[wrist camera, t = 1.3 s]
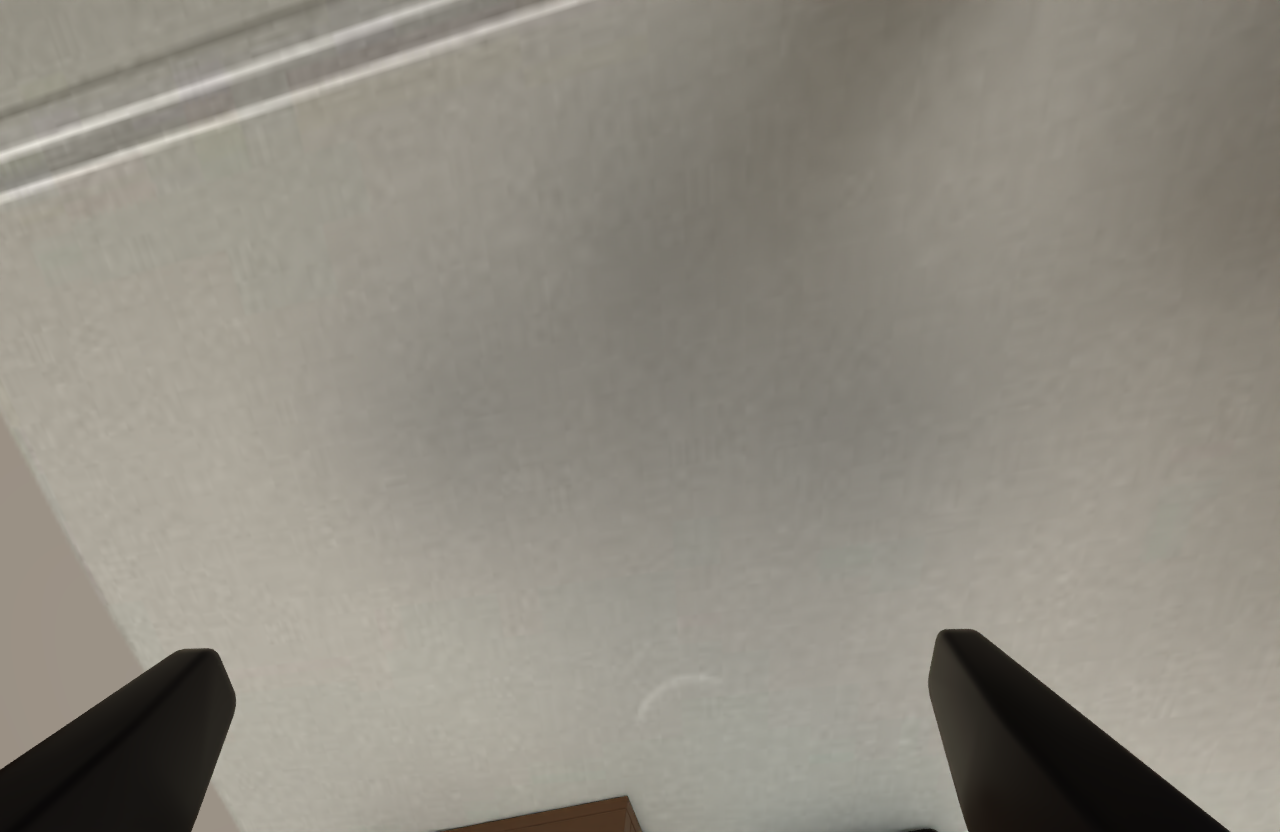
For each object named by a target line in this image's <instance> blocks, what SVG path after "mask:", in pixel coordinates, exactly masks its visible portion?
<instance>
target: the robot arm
mask: <svg viewBox="0 0 1280 832" xmlns="http://www.w3.org/2000/svg"><path fill="white" fill-rule="evenodd" d="M928 687H929V694H930V699H931V702H932V706H933V709H934V713H935V717H936V720H937V724H938V728H939V731H940V735H941V738H942V742H943V746H944V749H945V753H946V757H947V760H948V764H949V767H950V771H951V775H952V778H953V782H954V786H955V789H956V793H957V796H958V800H959V803H960V807H961V810H962V813H963V817H964V820H965V823H966V826H967V828H968V831H969V832H1230V831H1229V830H1228V829H1226V828H1225V827H1224V826H1222V825H1221V824H1220V823H1219V822H1217V821H1216V820H1215V819H1214V818H1212V817H1211V816H1210V815H1209V814H1207V813H1206V812H1205V811H1204V810H1202V809H1201V808H1200V807H1199V806H1197V805H1196V804H1195V803H1193V802H1192V801H1191V800H1190V799H1188V798H1187V797H1186V796H1185V795H1183V794H1182V793H1181V792H1180V791H1178V790H1177V789H1176V788H1175V787H1173V786H1172V785H1171V784H1170V783H1168V782H1167V781H1166V780H1164V779H1163V778H1162V777H1161V776H1159V775H1158V774H1157V773H1156V772H1154V771H1153V770H1152V769H1151V768H1149V767H1148V766H1147V765H1146V764H1144V763H1143V762H1142V761H1141V760H1139V759H1138V758H1137V757H1135V756H1134V755H1133V754H1132V753H1130V752H1129V751H1128V750H1127V749H1125V748H1124V747H1123V746H1122V745H1120V744H1119V743H1118V742H1117V741H1115V740H1114V739H1113V738H1112V737H1110V736H1109V735H1108V734H1106V733H1105V732H1104V731H1103V730H1101V729H1100V728H1099V727H1098V726H1096V725H1095V724H1094V723H1093V722H1091V721H1090V720H1089V719H1088V718H1086V717H1085V716H1084V715H1083V714H1081V713H1080V712H1079V711H1077V710H1076V709H1075V708H1074V707H1072V706H1071V705H1070V704H1069V703H1067V702H1066V701H1065V700H1064V699H1062V698H1061V697H1060V696H1059V695H1057V694H1056V693H1055V692H1054V691H1052V690H1051V689H1050V688H1048V687H1047V686H1046V685H1045V684H1043V683H1042V682H1041V681H1040V680H1038V679H1037V678H1036V677H1035V676H1033V675H1032V674H1031V673H1030V672H1028V671H1027V670H1026V669H1025V668H1023V667H1022V666H1021V665H1019V664H1018V663H1017V662H1016V661H1014V660H1013V659H1012V658H1011V657H1009V656H1008V655H1007V654H1006V653H1004V652H1003V651H1002V650H1001V649H999V648H998V647H997V646H995V645H994V644H993V643H992V642H990V641H989V640H988V639H987V638H985V637H984V636H983V635H982V634H980V633H979V632H977V631H975V630H973V629H945V630H942V631H940V632H939V633H938V635H937V638H936V642H935V647H934V652H933V657H932V662H931V667H930V672H929V678H928ZM235 707H236V696H235V692H234V689H233V687H232V684H231V682H230V679H229V677H228V675H227V672H226V670H225V668H224V665H223V663H222V661H221V658H220V656H219V654H218V653H217V652H216V651H214V650H213V649H209V648H201V649H182V650H178V651H176V652H174V653H173V654H171V655H170V656H168V657H167V658H165V659H164V660H162V661H161V662H159V663H158V664H156V665H155V666H153V667H152V668H150V669H149V670H147V671H146V672H144V673H143V674H141V675H140V676H139V677H137V678H136V679H134V680H132V681H131V682H130V683H128V684H127V685H125V686H124V687H122V688H121V689H119V690H118V691H116V692H115V693H113V694H112V695H110V696H109V697H107V698H106V699H104V700H103V701H102V702H100V703H99V704H97V705H95V706H94V707H93V708H91V709H90V710H88V711H87V712H85V713H84V714H82V715H81V716H79V717H78V718H76V719H75V720H73V721H72V722H70V723H69V724H67V725H66V726H64V727H63V728H61V729H60V730H59V731H57V732H56V733H54V734H53V735H51V736H50V737H48V738H47V739H45V740H44V741H42V742H41V743H39V744H38V745H36V746H35V747H33V748H32V749H30V750H29V751H27V752H26V753H25V754H23V755H21V756H20V757H18V758H17V759H16V760H14V761H13V762H11V763H10V764H8V765H7V766H5V767H4V768H2V769H1V770H0V832H191V831H192V828H193V825H194V823H195V820H196V818H197V815H198V813H199V810H200V807H201V804H202V802H203V799H204V796H205V793H206V790H207V787H208V785H209V782H210V779H211V777H212V774H213V771H214V768H215V766H216V763H217V760H218V757H219V754H220V752H221V749H222V746H223V743H224V741H225V738H226V735H227V732H228V730H229V727H230V724H231V721H232V718H233V716H234V712H235ZM909 832H937V831H936V830H933V829H921V830H915V831H909Z"/></svg>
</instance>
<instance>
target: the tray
mask: <svg viewBox="0 0 1280 832" xmlns="http://www.w3.org/2000/svg"><path fill="white" fill-rule="evenodd" d="M441 832H642V831H641V828H640V826H639V823H638V821H637V818H636V816H635V813H634V811H633V809H632V806H631V804H630V801H629V799H628V797H627V796H624V797H618V798H613V799H608V800H603V801H598V802H592V803H587V804H582V805H577V806H571V807H566V808H561V809H556V810H551V811H545V812H540V813H535V814H530V815H524V816H519V817H514V818H509V819H504V820H498V821H493V822H488V823H483V824H478V825H472V826H467V827H462V828H457V829H451V830H446V831H441Z"/></svg>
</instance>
